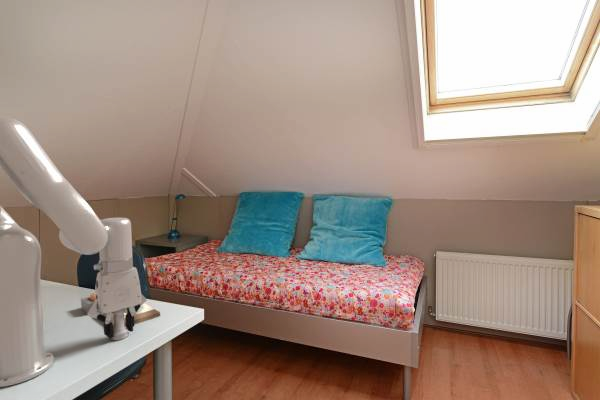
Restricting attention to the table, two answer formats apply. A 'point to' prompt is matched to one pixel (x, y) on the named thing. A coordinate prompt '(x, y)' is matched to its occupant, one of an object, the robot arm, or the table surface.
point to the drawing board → (141, 314)
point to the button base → (87, 304)
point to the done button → (92, 297)
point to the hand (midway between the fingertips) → (119, 332)
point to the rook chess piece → (119, 326)
